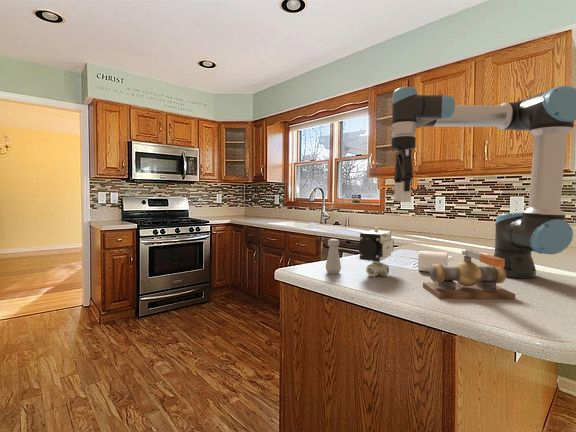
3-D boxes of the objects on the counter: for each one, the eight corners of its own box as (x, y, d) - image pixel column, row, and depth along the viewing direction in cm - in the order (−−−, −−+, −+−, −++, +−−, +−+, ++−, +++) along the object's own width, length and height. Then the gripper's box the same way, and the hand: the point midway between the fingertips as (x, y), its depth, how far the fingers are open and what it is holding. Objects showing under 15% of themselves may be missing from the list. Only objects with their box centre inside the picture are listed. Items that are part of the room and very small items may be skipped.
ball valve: (380, 281, 117) (381, 230, 116) (356, 278, 122) (357, 228, 121) (395, 272, 132) (396, 226, 131) (373, 269, 137) (374, 225, 136)
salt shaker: (343, 273, 130) (344, 239, 129) (335, 276, 125) (335, 240, 125) (331, 271, 134) (331, 237, 133) (322, 273, 129) (322, 239, 129)
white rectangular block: (445, 275, 127) (446, 254, 127) (417, 272, 132) (418, 252, 131) (448, 269, 138) (448, 250, 137) (421, 267, 142) (422, 248, 142)
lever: (459, 254, 106) (460, 248, 106) (470, 254, 106) (470, 248, 106) (492, 266, 88) (493, 259, 88) (505, 266, 88) (505, 259, 88)
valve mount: (491, 287, 111) (492, 253, 110) (515, 299, 99) (517, 260, 98) (422, 287, 111) (423, 252, 110) (438, 298, 99) (439, 259, 98)
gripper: (386, 142, 126) (385, 200, 127) (397, 130, 101) (396, 202, 102) (408, 142, 124) (406, 200, 126) (424, 129, 100) (422, 202, 101)
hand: (402, 201), depth 114 cm, fingers open, 13 cm apart
